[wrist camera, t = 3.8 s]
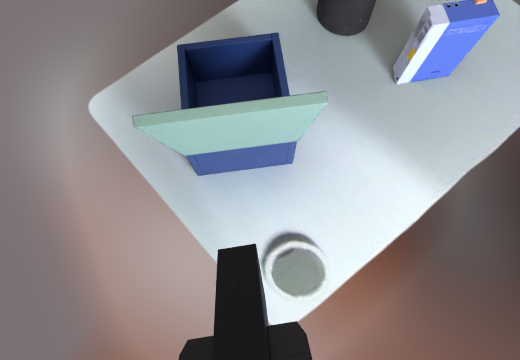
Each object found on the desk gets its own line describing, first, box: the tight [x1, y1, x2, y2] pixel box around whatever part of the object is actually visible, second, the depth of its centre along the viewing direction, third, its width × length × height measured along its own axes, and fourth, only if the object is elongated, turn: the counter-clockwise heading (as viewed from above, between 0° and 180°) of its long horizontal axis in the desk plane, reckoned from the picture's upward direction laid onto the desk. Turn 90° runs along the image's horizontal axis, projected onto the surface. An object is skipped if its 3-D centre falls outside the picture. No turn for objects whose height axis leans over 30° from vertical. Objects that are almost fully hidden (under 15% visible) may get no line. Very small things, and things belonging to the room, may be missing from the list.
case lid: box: [132, 91, 328, 156], centre depth 30 cm, size 16×13×1 cm
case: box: [177, 33, 297, 176], centre depth 44 cm, size 15×13×8 cm
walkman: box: [392, 0, 500, 84], centre depth 44 cm, size 8×3×12 cm, turn 100°
